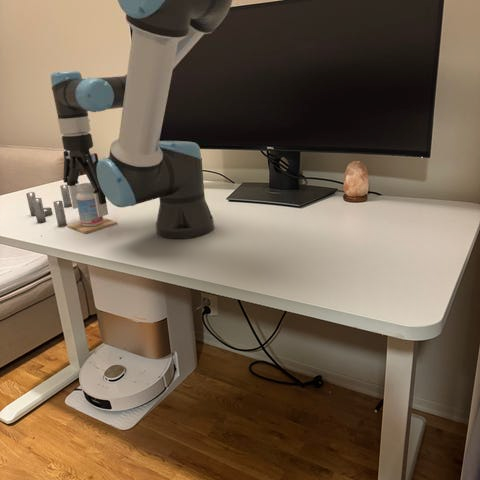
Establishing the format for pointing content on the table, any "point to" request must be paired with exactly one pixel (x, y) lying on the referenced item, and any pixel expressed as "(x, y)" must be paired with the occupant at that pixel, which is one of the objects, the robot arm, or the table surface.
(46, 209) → the steel nut
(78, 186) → the pill bottle
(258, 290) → the table surface
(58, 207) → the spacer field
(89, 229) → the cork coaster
